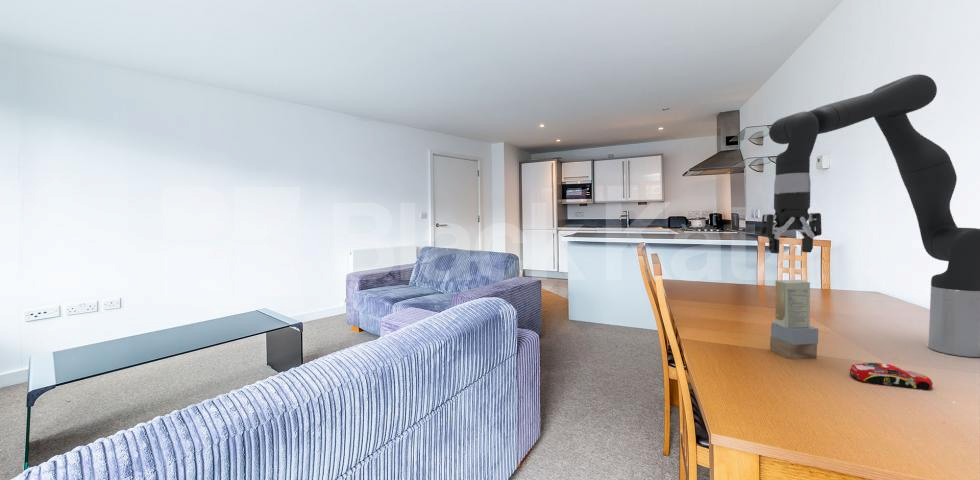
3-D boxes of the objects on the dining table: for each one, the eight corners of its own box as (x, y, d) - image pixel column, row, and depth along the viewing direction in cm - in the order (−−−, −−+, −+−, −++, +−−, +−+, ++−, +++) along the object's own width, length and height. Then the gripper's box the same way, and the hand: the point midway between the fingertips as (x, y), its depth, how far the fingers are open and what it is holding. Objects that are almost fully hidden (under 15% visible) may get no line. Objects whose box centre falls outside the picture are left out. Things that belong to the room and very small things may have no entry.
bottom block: (795, 349, 105) (795, 335, 105) (816, 359, 98) (817, 344, 98) (770, 350, 106) (770, 336, 105) (789, 359, 99) (790, 344, 98)
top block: (794, 335, 106) (795, 321, 105) (817, 343, 99) (818, 328, 98) (771, 336, 105) (771, 322, 105) (792, 344, 98) (792, 329, 98)
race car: (923, 383, 84) (923, 365, 84) (939, 393, 79) (940, 375, 79) (846, 374, 89) (846, 357, 89) (857, 383, 84) (857, 365, 84)
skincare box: (798, 323, 103) (800, 279, 102) (810, 328, 99) (811, 282, 98) (773, 323, 104) (774, 279, 103) (784, 328, 99) (785, 282, 99)
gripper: (806, 192, 103) (805, 250, 104) (754, 193, 103) (754, 252, 104) (831, 189, 96) (829, 253, 97) (775, 191, 96) (774, 254, 96)
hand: (790, 252), depth 100 cm, fingers open, 8 cm apart
